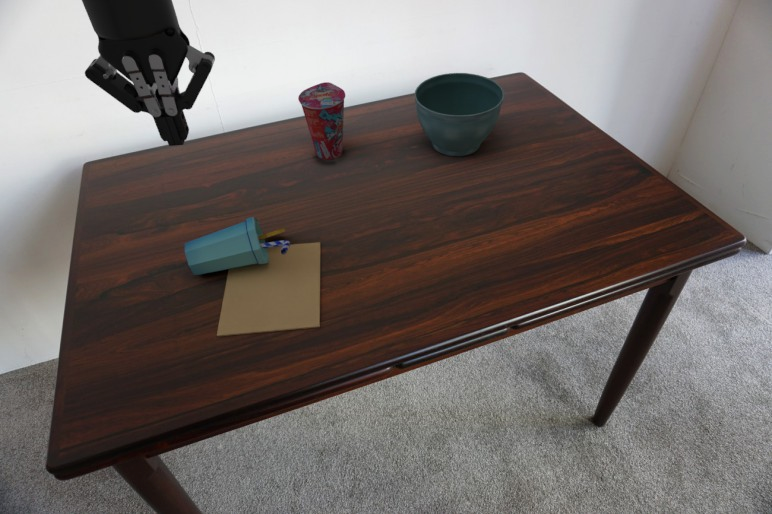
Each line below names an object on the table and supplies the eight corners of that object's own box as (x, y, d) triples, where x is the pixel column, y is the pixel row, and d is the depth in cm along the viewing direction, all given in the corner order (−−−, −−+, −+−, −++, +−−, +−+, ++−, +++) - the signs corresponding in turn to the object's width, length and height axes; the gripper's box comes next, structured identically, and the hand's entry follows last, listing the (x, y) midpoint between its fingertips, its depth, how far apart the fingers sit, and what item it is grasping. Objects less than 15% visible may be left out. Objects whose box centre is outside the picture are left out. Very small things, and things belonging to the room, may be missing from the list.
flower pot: (448, 178, 95) (451, 125, 87) (398, 139, 105) (397, 88, 97) (514, 148, 101) (523, 96, 93) (461, 114, 110) (465, 65, 103)
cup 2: (357, 158, 100) (351, 100, 92) (315, 169, 98) (305, 111, 90) (341, 134, 107) (335, 78, 98) (301, 144, 105) (291, 88, 96)
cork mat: (217, 336, 71) (216, 335, 71) (232, 250, 83) (232, 249, 83) (319, 327, 71) (319, 326, 71) (320, 243, 84) (320, 242, 83)
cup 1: (193, 304, 72) (298, 274, 74) (171, 254, 69) (282, 224, 70) (205, 267, 85) (295, 242, 86) (188, 223, 82) (281, 198, 83)
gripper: (25, -9, 44) (108, 165, 56) (185, -19, 44) (233, 155, 56) (58, -35, 49) (127, 128, 61) (200, -44, 50) (241, 120, 62)
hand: (178, 141), depth 59 cm, fingers closed
